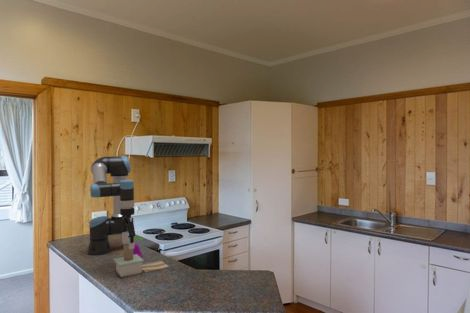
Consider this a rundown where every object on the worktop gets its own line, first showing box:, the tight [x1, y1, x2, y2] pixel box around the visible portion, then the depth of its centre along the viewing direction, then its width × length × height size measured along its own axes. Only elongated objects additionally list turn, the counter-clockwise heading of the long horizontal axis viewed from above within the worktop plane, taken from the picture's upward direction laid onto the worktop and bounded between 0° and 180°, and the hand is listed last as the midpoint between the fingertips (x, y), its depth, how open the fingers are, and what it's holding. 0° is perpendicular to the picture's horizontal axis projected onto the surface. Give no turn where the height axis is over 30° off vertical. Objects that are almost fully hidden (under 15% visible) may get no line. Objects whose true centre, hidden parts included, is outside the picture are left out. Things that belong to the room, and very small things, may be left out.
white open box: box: [115, 263, 143, 278], centre depth 177 cm, size 11×11×6 cm
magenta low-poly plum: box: [133, 236, 144, 259], centre depth 198 cm, size 11×11×15 cm
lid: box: [113, 243, 145, 267], centre depth 177 cm, size 13×13×9 cm
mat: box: [141, 259, 170, 274], centre depth 185 cm, size 14×14×1 cm
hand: (128, 246), depth 177 cm, fingers open, 13 cm apart
